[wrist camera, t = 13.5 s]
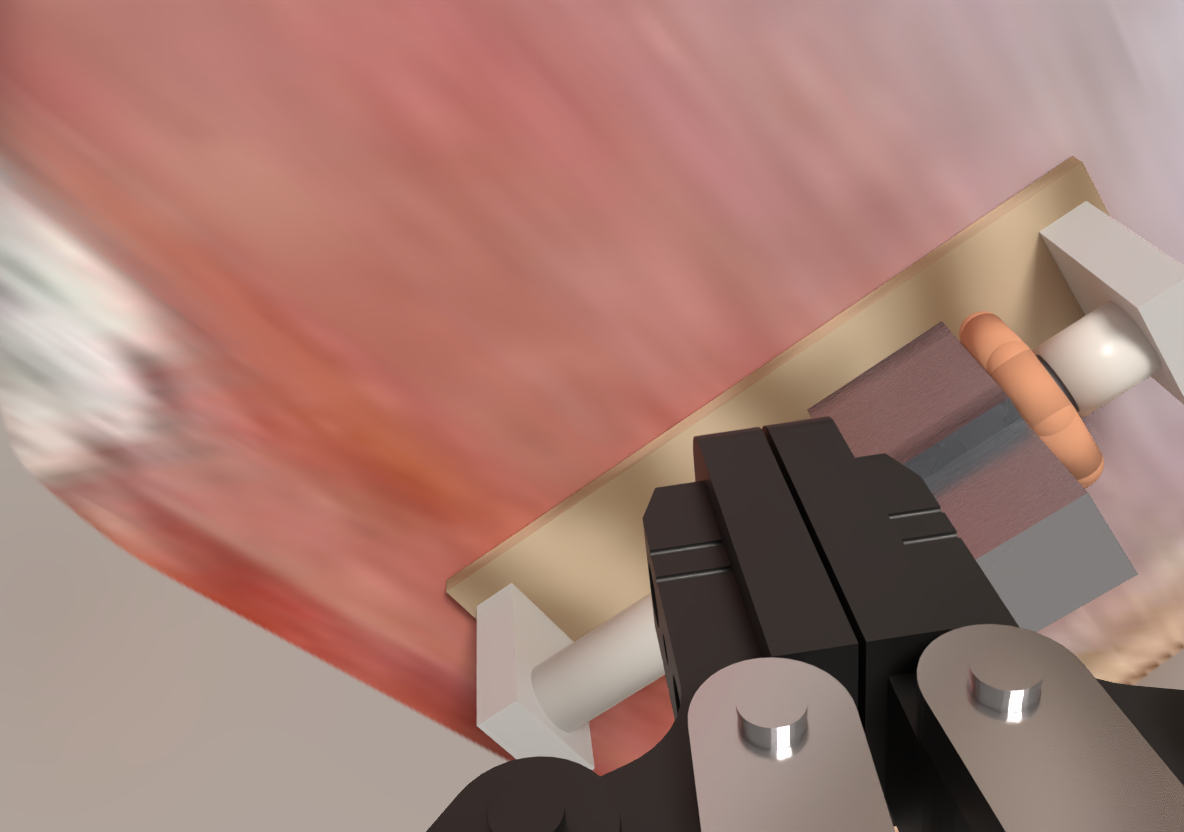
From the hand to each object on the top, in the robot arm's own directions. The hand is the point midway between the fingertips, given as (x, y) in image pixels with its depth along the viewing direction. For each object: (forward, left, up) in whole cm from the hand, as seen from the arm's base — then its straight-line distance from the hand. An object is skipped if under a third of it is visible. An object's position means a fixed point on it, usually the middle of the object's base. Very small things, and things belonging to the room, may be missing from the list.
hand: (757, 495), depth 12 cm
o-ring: (+15, -14, -27) cm, 33 cm away
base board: (+7, -19, -29) cm, 35 cm away
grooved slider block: (+11, -16, -26) cm, 33 cm away
